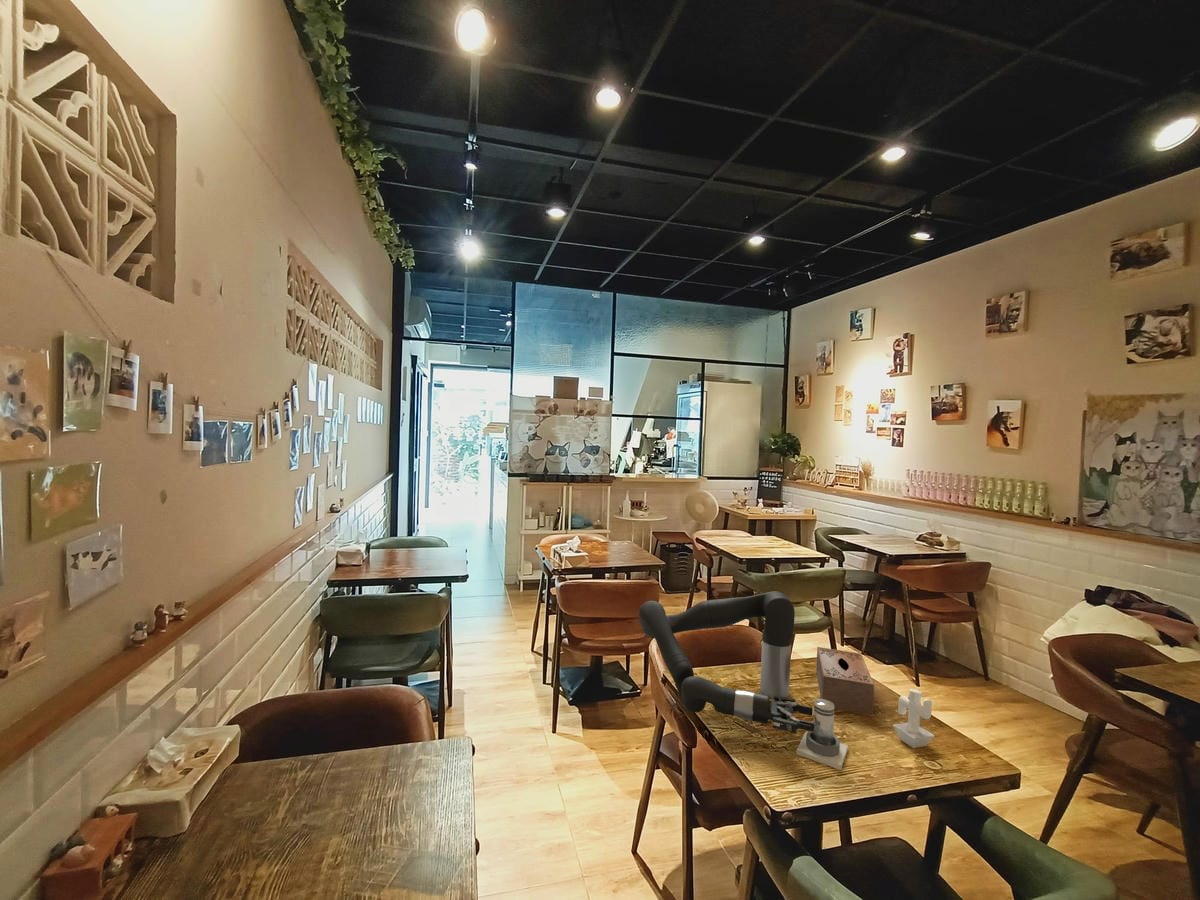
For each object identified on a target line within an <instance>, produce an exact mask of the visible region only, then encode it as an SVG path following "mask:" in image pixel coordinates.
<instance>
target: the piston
mask: <svg viewBox="0 0 1200 900" xmlns="http://www.w3.org/2000/svg"><path fill="white" fill-rule="evenodd" d="M835 710H836V709H835V708H834V704H833V703H832V702H830V701H828V700H825V699H821V698H816V699H815V700H814V701H813V723H814V731H813V740H814V741H815V742H817V743H819V744H822V745H828V746H832V745H833V735H834V725H835V724H834V723H835V722H834V721H835V720H834V719H835Z"/></svg>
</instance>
